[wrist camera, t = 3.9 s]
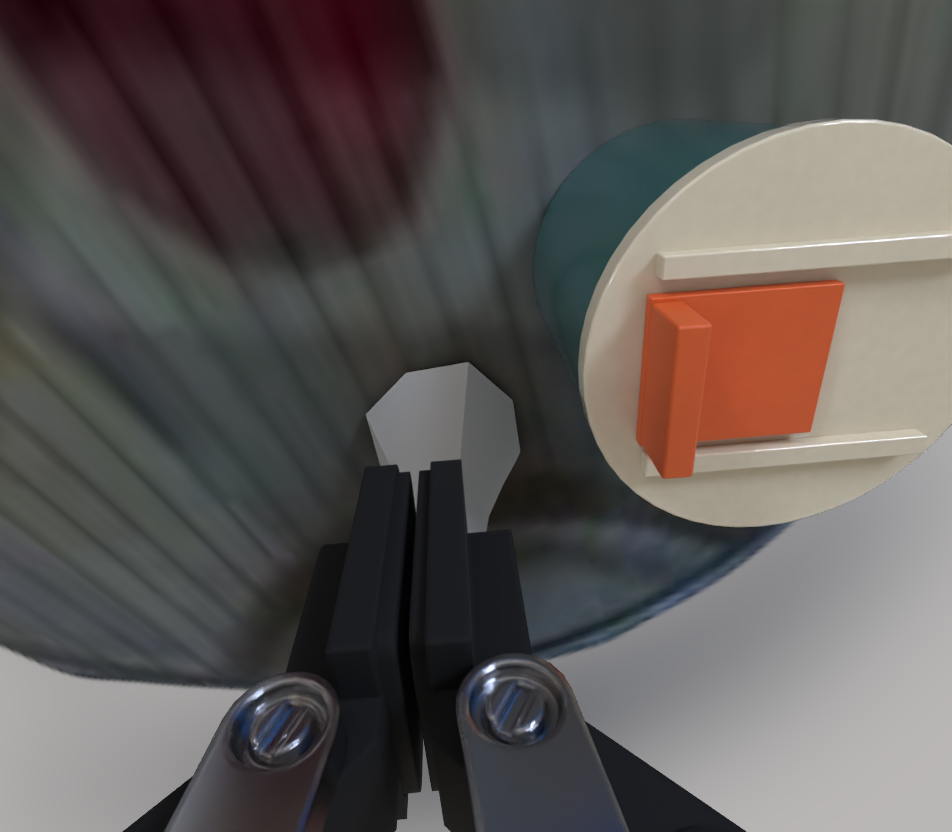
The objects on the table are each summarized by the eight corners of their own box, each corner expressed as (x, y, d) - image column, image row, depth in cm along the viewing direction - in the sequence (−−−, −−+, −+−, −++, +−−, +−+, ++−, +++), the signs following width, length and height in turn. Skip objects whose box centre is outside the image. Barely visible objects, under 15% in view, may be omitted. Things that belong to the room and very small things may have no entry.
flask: (339, 405, 28) (292, 546, 19) (476, 333, 26) (496, 449, 17) (417, 513, 31) (410, 678, 22) (543, 454, 29) (589, 604, 21)
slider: (635, 439, 17) (661, 484, 15) (646, 293, 15) (678, 322, 13) (803, 425, 17) (851, 468, 15) (836, 278, 15) (897, 304, 13)
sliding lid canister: (530, 393, 28) (582, 554, 18) (525, 124, 22) (594, 138, 13) (769, 373, 28) (952, 522, 18) (819, 102, 23) (1118, 100, 13)
